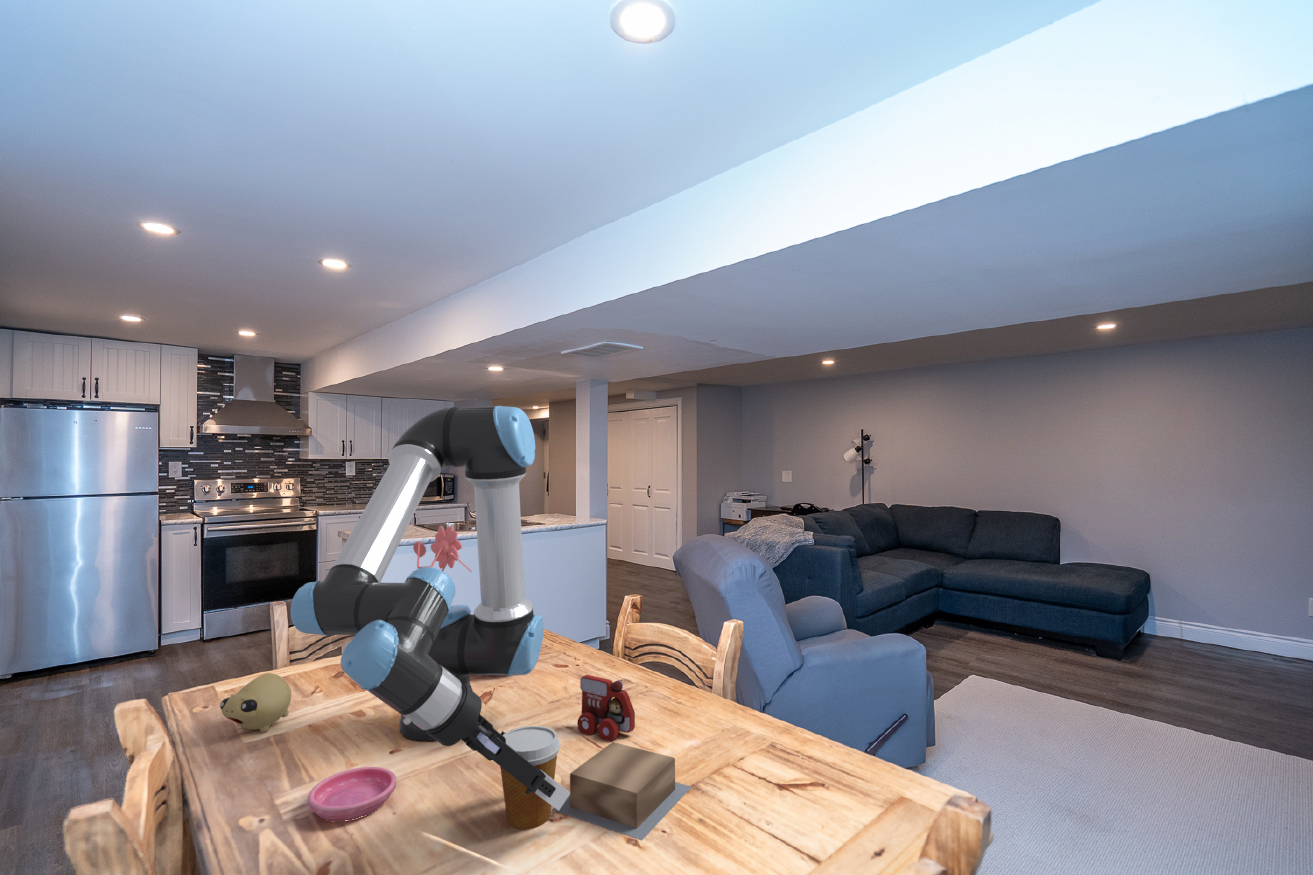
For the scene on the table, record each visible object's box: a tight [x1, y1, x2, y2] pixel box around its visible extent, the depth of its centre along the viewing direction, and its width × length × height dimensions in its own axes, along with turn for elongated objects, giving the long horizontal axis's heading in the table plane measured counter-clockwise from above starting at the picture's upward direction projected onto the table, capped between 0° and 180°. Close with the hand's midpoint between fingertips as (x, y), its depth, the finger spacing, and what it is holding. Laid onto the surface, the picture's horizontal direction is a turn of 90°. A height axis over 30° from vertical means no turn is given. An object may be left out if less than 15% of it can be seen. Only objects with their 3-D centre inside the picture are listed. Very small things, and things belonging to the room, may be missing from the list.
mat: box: [551, 781, 692, 841], centre depth 98 cm, size 16×16×1 cm
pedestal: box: [569, 741, 676, 828], centre depth 98 cm, size 12×12×5 cm
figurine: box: [413, 525, 472, 573], centre depth 180 cm, size 15×26×35 cm, turn 56°
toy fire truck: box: [576, 674, 636, 742], centre depth 122 cm, size 7×12×10 cm, turn 58°
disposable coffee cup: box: [499, 725, 562, 830], centre depth 93 cm, size 10×10×12 cm
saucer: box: [307, 766, 397, 823], centre depth 97 cm, size 12×12×3 cm
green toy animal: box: [219, 672, 292, 734], centre depth 125 cm, size 10×12×11 cm
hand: (545, 784), depth 95 cm, fingers open, 11 cm apart
